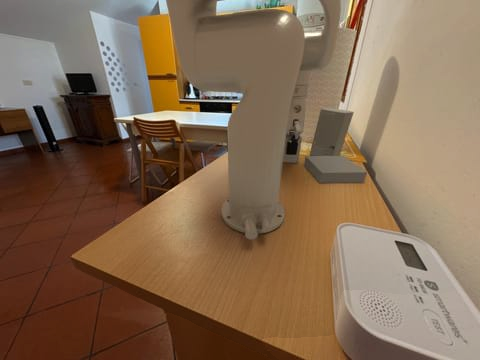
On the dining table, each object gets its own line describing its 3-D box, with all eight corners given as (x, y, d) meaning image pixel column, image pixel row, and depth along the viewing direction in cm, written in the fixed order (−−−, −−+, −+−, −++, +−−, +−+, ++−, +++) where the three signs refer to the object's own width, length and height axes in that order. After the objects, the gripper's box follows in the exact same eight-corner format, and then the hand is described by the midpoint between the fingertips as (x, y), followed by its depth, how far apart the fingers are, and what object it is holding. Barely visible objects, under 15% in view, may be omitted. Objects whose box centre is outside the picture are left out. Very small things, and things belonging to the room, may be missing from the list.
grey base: (363, 182, 51) (367, 172, 50) (319, 183, 51) (321, 172, 49) (340, 164, 62) (343, 155, 60) (303, 164, 61) (305, 156, 60)
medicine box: (296, 158, 66) (300, 133, 62) (298, 163, 62) (302, 137, 58) (272, 157, 67) (275, 132, 63) (273, 162, 63) (276, 136, 59)
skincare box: (309, 155, 69) (317, 108, 62) (319, 151, 73) (329, 106, 66) (331, 162, 63) (344, 111, 56) (341, 157, 68) (354, 109, 60)
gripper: (319, 94, 47) (307, 159, 56) (297, 89, 63) (290, 140, 71) (289, 94, 47) (281, 159, 55) (274, 89, 62) (270, 141, 71)
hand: (286, 149), depth 63 cm, fingers open, 9 cm apart
